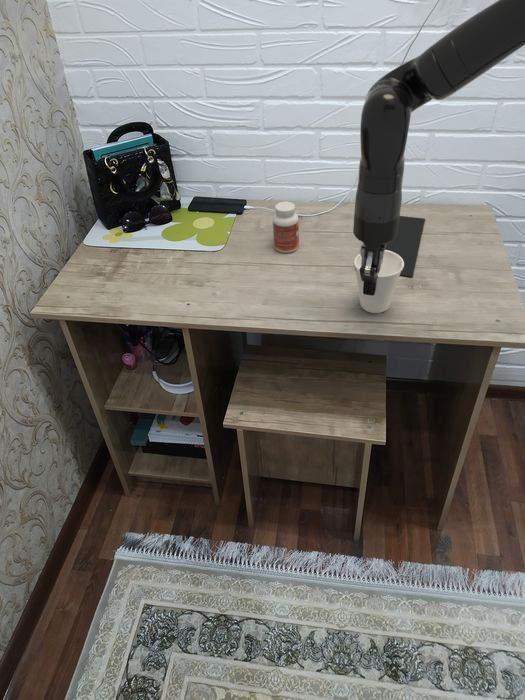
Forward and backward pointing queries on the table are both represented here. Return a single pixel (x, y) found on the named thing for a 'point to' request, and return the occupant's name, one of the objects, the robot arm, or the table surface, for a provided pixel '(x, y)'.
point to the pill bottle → (285, 227)
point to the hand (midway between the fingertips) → (369, 292)
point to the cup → (380, 282)
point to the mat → (407, 242)
